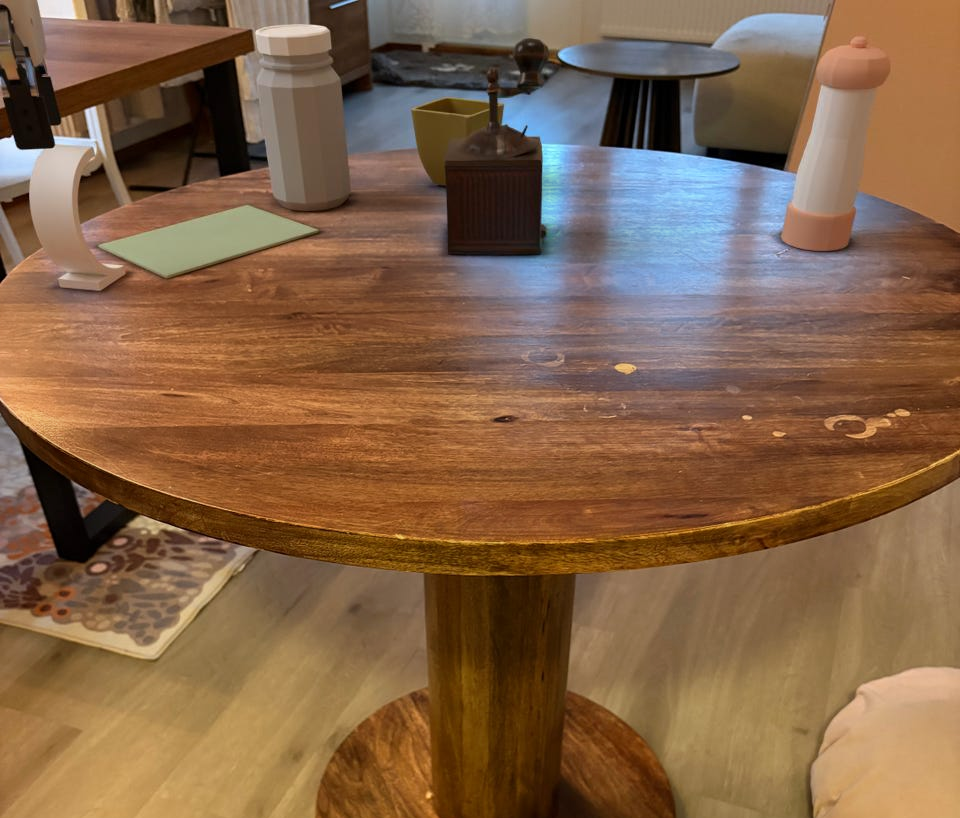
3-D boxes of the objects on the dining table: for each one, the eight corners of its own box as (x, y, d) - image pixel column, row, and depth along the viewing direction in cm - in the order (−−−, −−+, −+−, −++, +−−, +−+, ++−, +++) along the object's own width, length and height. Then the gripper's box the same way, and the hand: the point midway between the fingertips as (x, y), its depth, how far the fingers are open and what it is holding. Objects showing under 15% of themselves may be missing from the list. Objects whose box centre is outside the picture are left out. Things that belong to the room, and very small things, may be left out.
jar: (290, 218, 109) (265, 39, 97) (262, 197, 115) (236, 27, 104) (364, 205, 113) (350, 31, 101) (333, 185, 119) (316, 20, 107)
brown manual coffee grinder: (547, 255, 99) (555, 61, 87) (445, 255, 99) (439, 61, 87) (543, 211, 111) (550, 34, 99) (452, 211, 111) (447, 35, 99)
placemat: (166, 278, 94) (166, 275, 94) (98, 247, 102) (98, 244, 101) (319, 232, 105) (318, 229, 105) (247, 207, 112) (247, 204, 112)
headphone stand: (126, 273, 96) (93, 146, 88) (94, 294, 91) (57, 163, 83) (86, 269, 96) (51, 143, 88) (53, 290, 92) (12, 160, 84)
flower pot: (448, 171, 124) (446, 95, 118) (504, 179, 121) (505, 102, 115) (413, 187, 118) (409, 108, 112) (471, 196, 115) (470, 116, 109)
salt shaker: (792, 226, 106) (833, 29, 93) (856, 236, 103) (907, 34, 90) (772, 244, 101) (812, 39, 89) (838, 255, 98) (889, 45, 86)
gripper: (-57, -105, 79) (6, 119, 90) (-93, -100, 66) (-14, 160, 77) (35, -104, 81) (87, 116, 92) (17, -99, 68) (79, 156, 79)
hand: (40, 136), depth 84 cm, fingers open, 9 cm apart
